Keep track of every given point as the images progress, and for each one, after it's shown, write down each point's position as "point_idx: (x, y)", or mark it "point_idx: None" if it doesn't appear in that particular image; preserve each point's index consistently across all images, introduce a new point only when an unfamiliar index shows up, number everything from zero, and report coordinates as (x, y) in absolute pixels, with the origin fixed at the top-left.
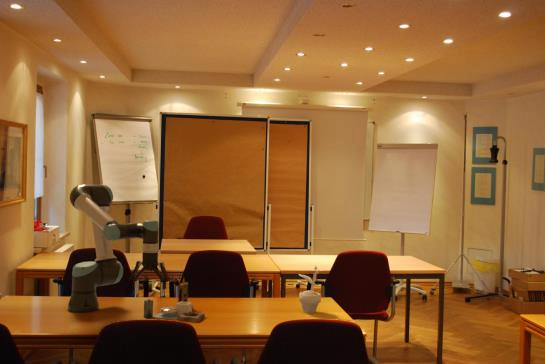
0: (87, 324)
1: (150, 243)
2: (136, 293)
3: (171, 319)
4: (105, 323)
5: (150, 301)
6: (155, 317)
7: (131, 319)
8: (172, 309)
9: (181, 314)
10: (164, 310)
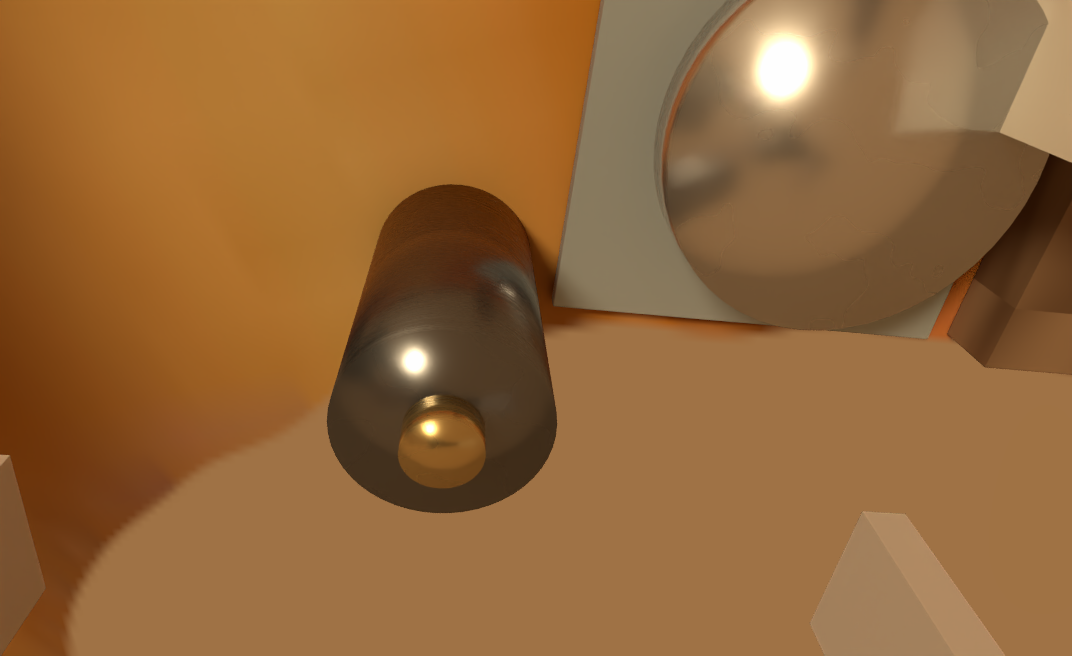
0: None
1: None
2: (23, 595)
3: (851, 327)
4: (65, 639)
5: (511, 478)
6: (594, 306)
7: (270, 437)
8: (923, 187)
9: (1050, 260)
10: (768, 296)
